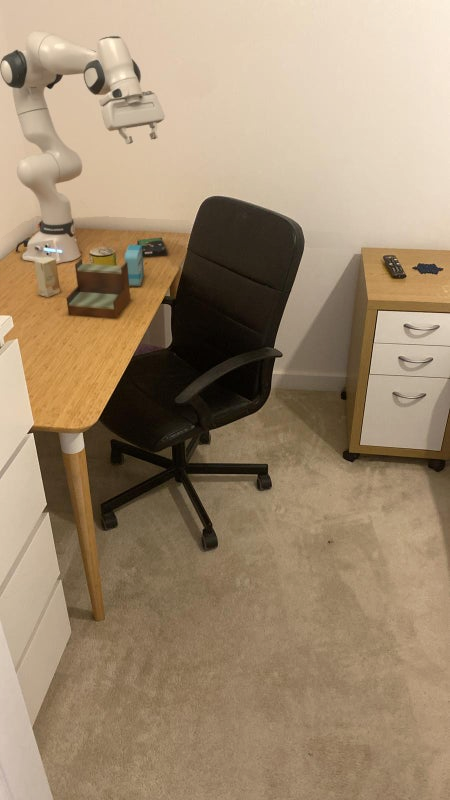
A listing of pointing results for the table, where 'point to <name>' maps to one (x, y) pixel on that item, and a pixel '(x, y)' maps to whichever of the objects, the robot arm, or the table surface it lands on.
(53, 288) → the cosmetic box
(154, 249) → the disk drive
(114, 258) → the beverage can
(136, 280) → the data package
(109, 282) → the step shelf
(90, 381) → the table surface
